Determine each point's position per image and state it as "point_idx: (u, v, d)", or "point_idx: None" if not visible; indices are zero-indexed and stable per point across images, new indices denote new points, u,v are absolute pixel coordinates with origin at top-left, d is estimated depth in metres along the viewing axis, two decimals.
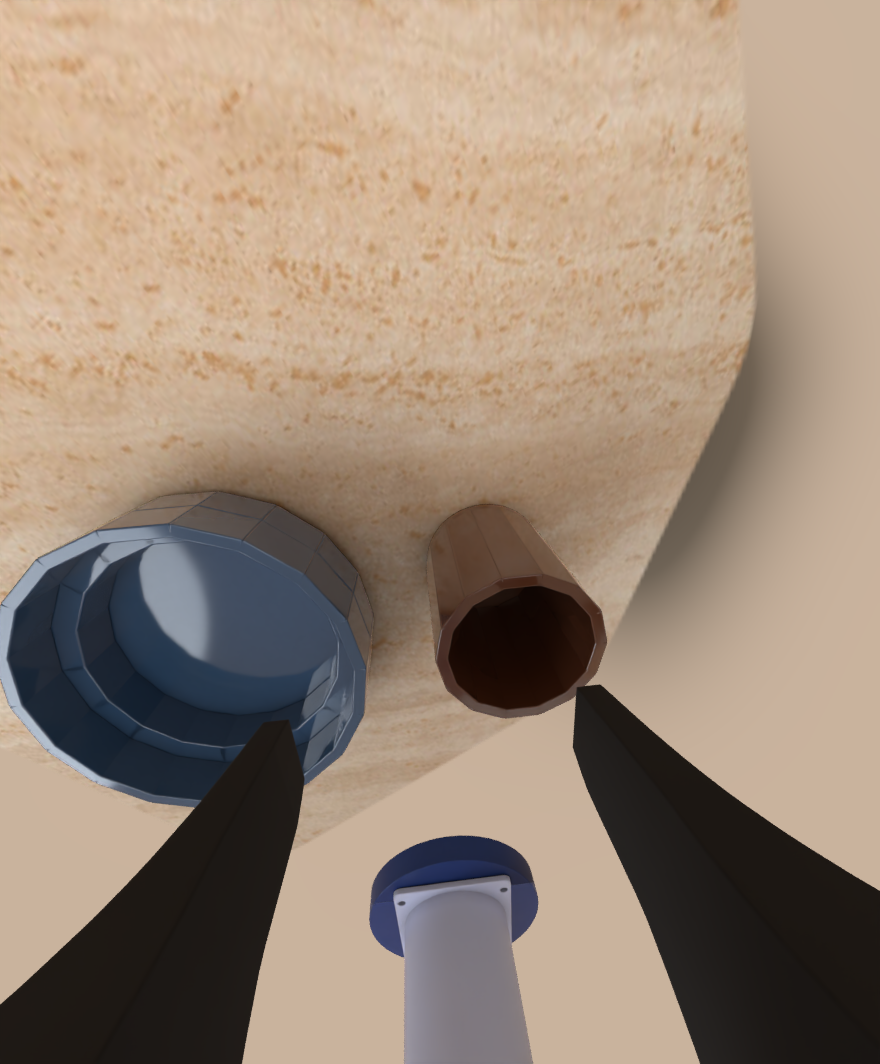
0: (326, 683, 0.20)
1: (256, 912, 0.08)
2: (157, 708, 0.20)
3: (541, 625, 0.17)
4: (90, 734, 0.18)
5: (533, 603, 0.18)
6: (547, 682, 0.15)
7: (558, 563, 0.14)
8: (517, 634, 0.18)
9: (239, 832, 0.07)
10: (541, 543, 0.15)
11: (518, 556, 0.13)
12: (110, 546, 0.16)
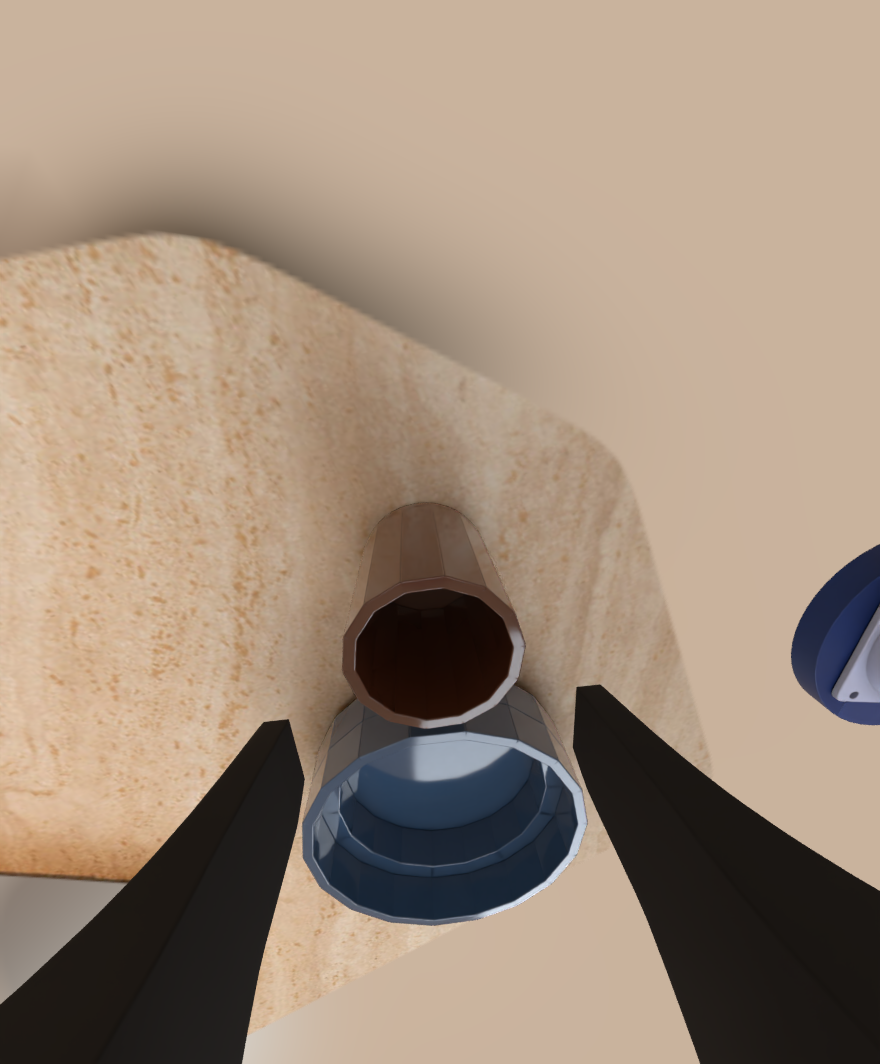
0: None
1: (256, 912, 0.08)
2: (493, 830, 0.24)
3: None
4: (483, 886, 0.22)
5: None
6: None
7: (365, 583, 0.13)
8: None
9: (239, 832, 0.07)
10: (368, 562, 0.15)
11: None
12: (337, 832, 0.21)
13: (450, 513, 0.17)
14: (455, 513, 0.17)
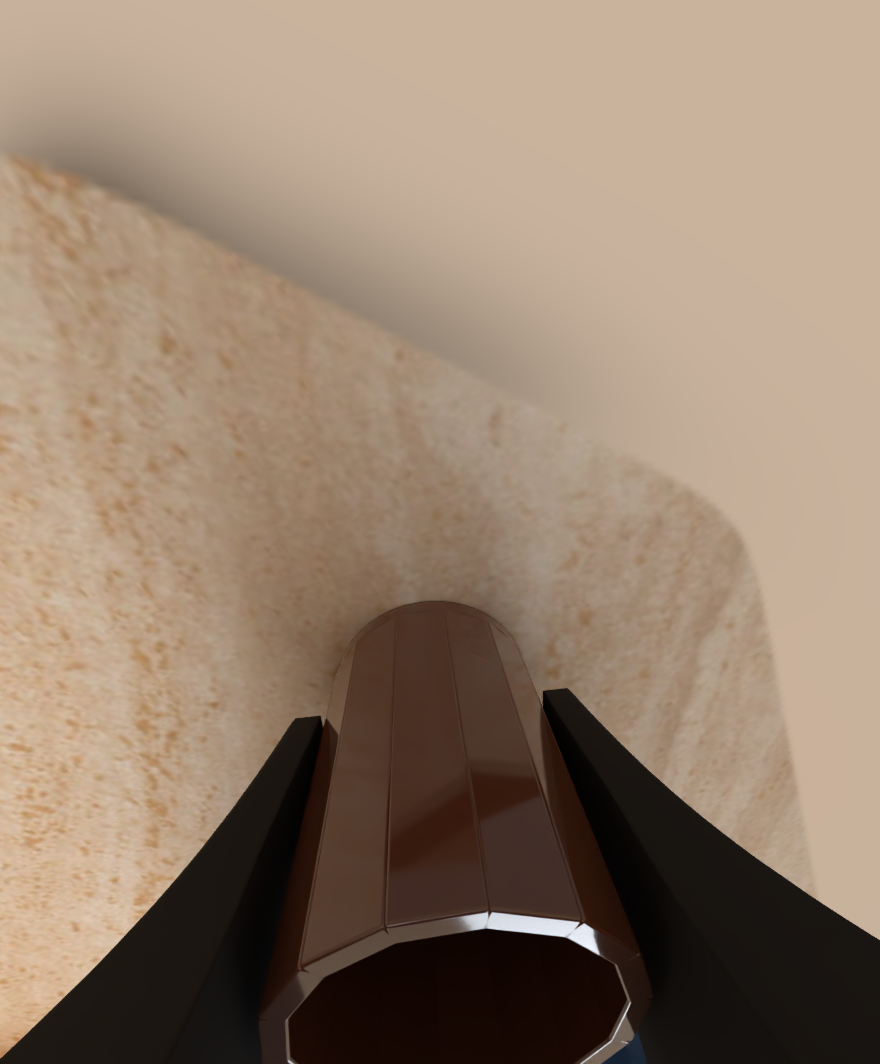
0: None
1: None
2: None
3: None
4: None
5: None
6: None
7: (316, 845, 0.06)
8: None
9: (282, 827, 0.07)
10: (331, 755, 0.08)
11: None
12: None
13: (475, 625, 0.11)
14: (481, 623, 0.11)
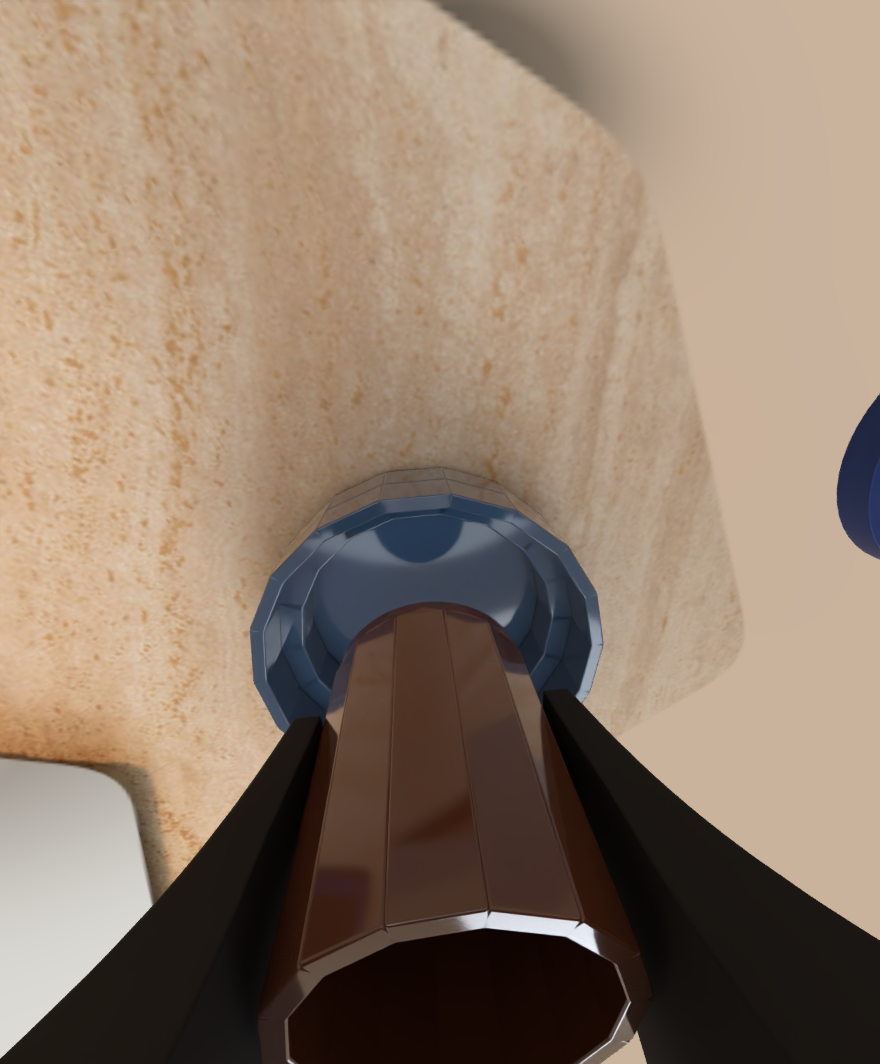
0: None
1: None
2: None
3: None
4: None
5: None
6: None
7: (316, 845, 0.06)
8: None
9: (282, 827, 0.07)
10: (331, 755, 0.08)
11: None
12: (301, 674, 0.18)
13: (474, 624, 0.11)
14: (481, 623, 0.11)
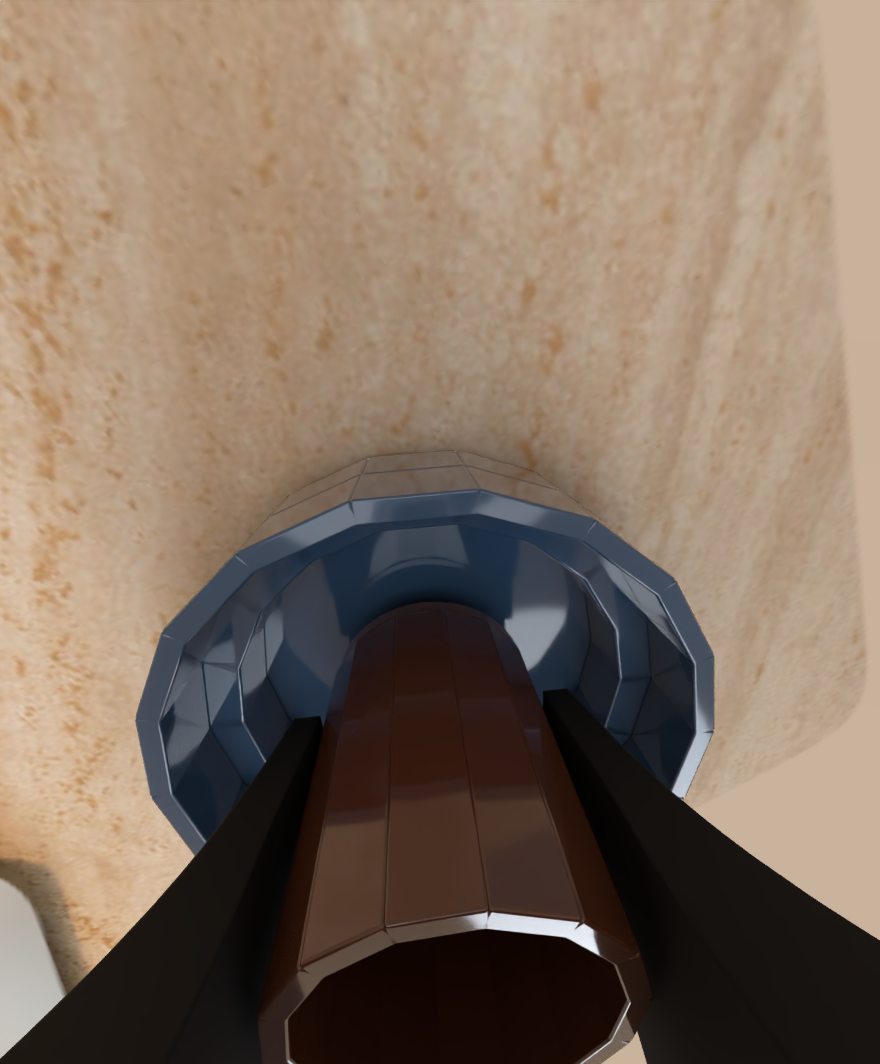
0: None
1: None
2: None
3: None
4: None
5: None
6: None
7: (315, 845, 0.06)
8: None
9: (281, 827, 0.07)
10: (331, 755, 0.08)
11: None
12: (243, 762, 0.12)
13: (474, 625, 0.11)
14: (481, 623, 0.11)
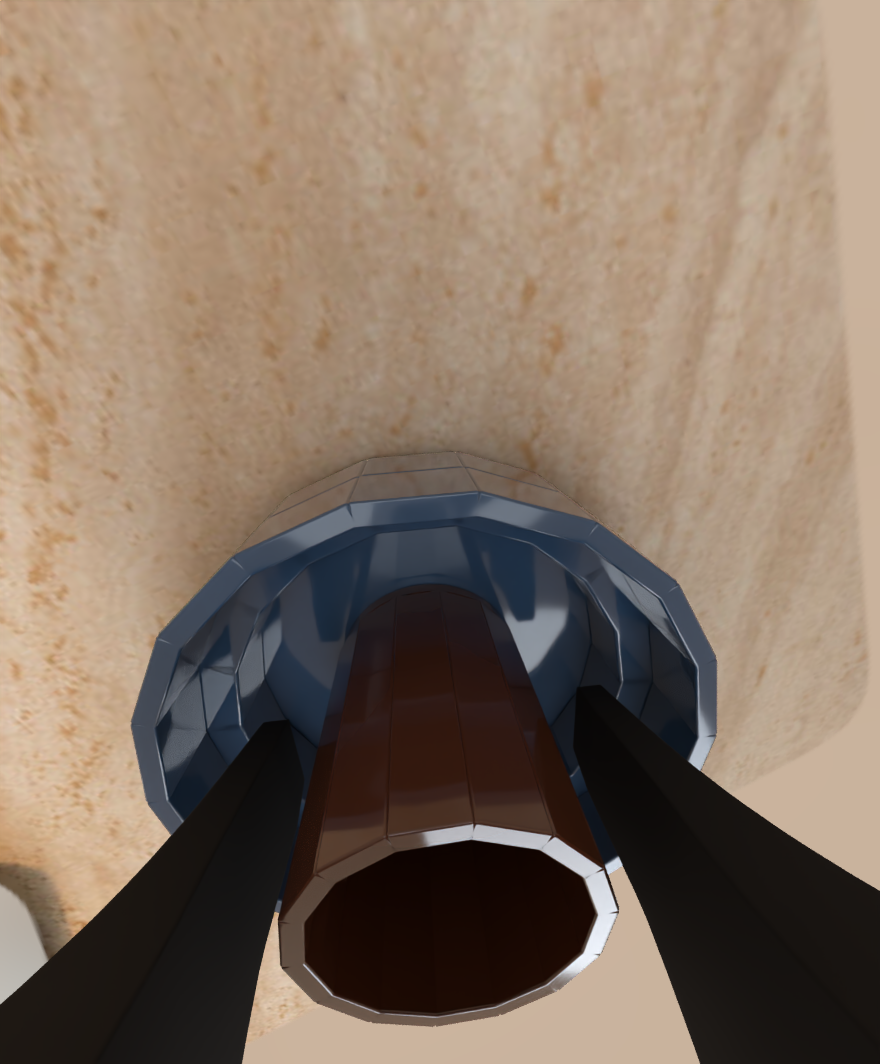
0: None
1: (256, 912, 0.08)
2: None
3: None
4: None
5: None
6: None
7: (326, 784, 0.07)
8: None
9: (239, 832, 0.07)
10: (338, 715, 0.09)
11: None
12: None
13: (468, 604, 0.12)
14: (474, 603, 0.12)
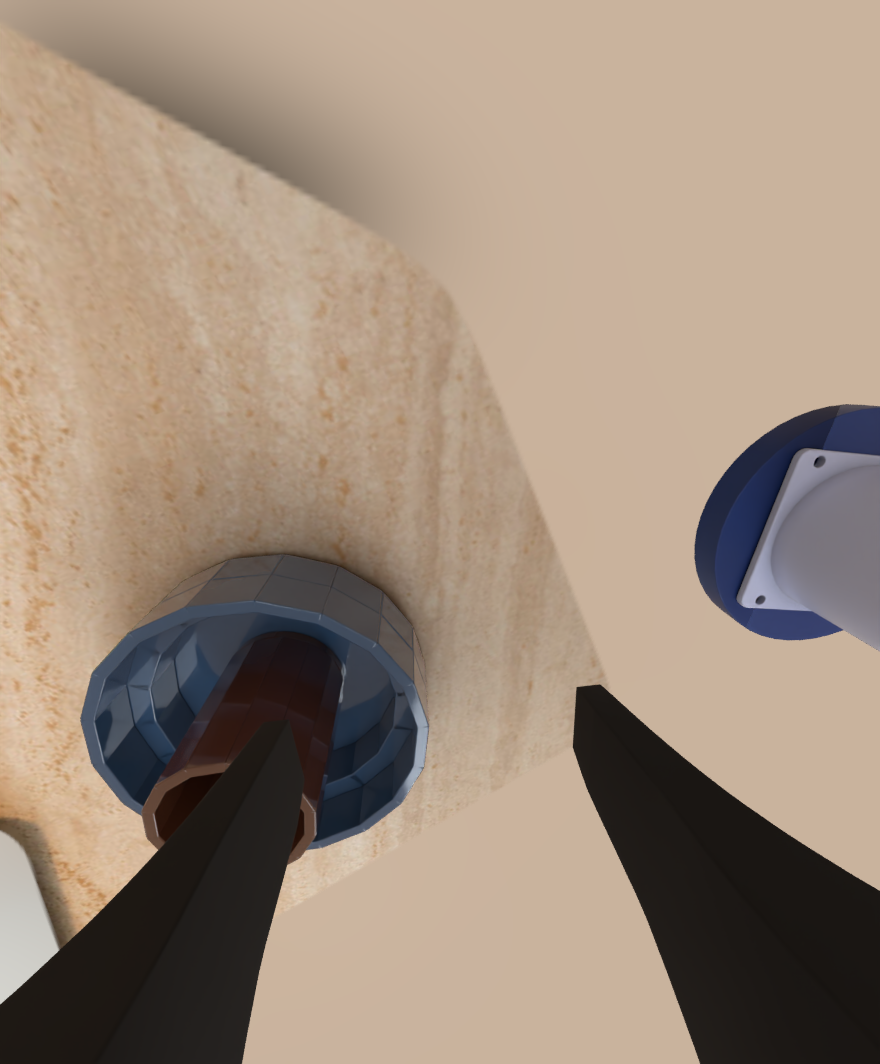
0: None
1: (256, 912, 0.08)
2: (354, 754, 0.21)
3: None
4: (334, 812, 0.20)
5: None
6: None
7: None
8: None
9: (239, 832, 0.07)
10: (197, 714, 0.16)
11: None
12: (157, 747, 0.19)
13: (299, 645, 0.18)
14: (305, 644, 0.19)
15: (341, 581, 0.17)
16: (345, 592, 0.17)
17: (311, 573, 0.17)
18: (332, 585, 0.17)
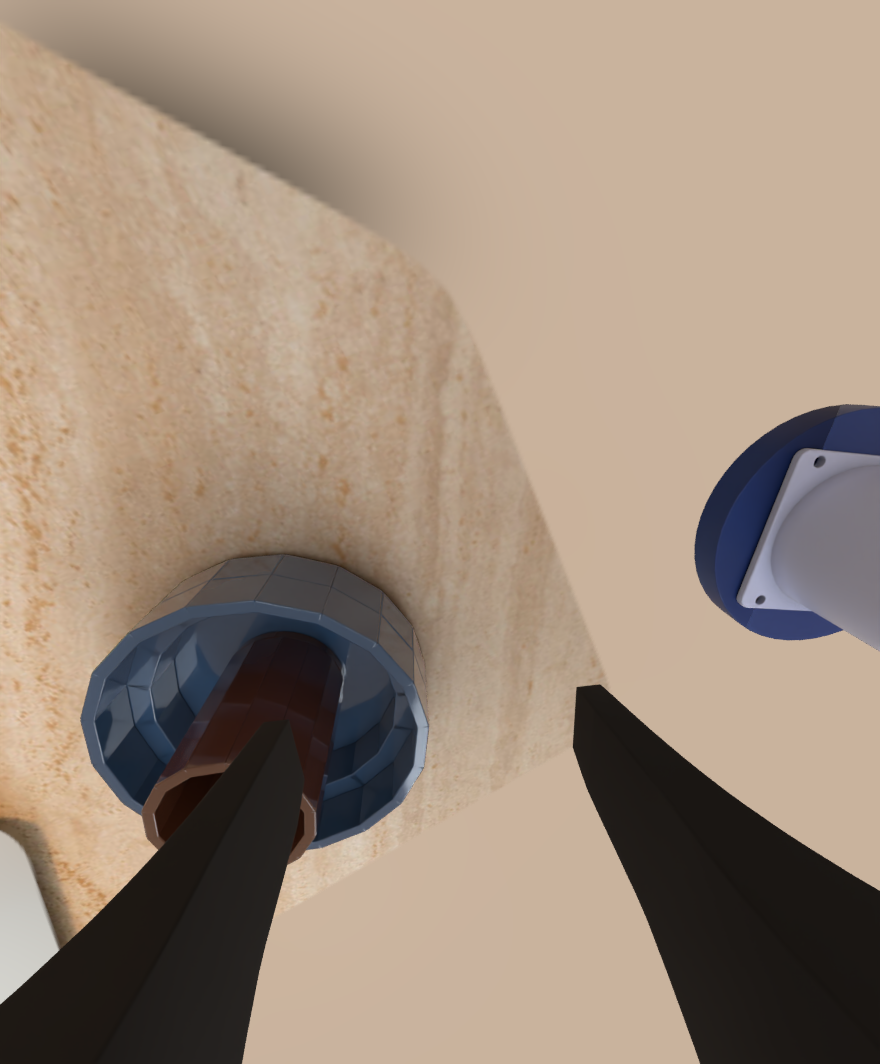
0: None
1: (256, 912, 0.08)
2: (354, 754, 0.21)
3: None
4: (334, 812, 0.20)
5: None
6: None
7: None
8: None
9: (239, 832, 0.07)
10: (197, 714, 0.16)
11: None
12: (157, 747, 0.19)
13: (299, 645, 0.18)
14: (305, 644, 0.19)
15: (341, 581, 0.17)
16: (345, 592, 0.17)
17: (311, 573, 0.17)
18: (332, 585, 0.17)
